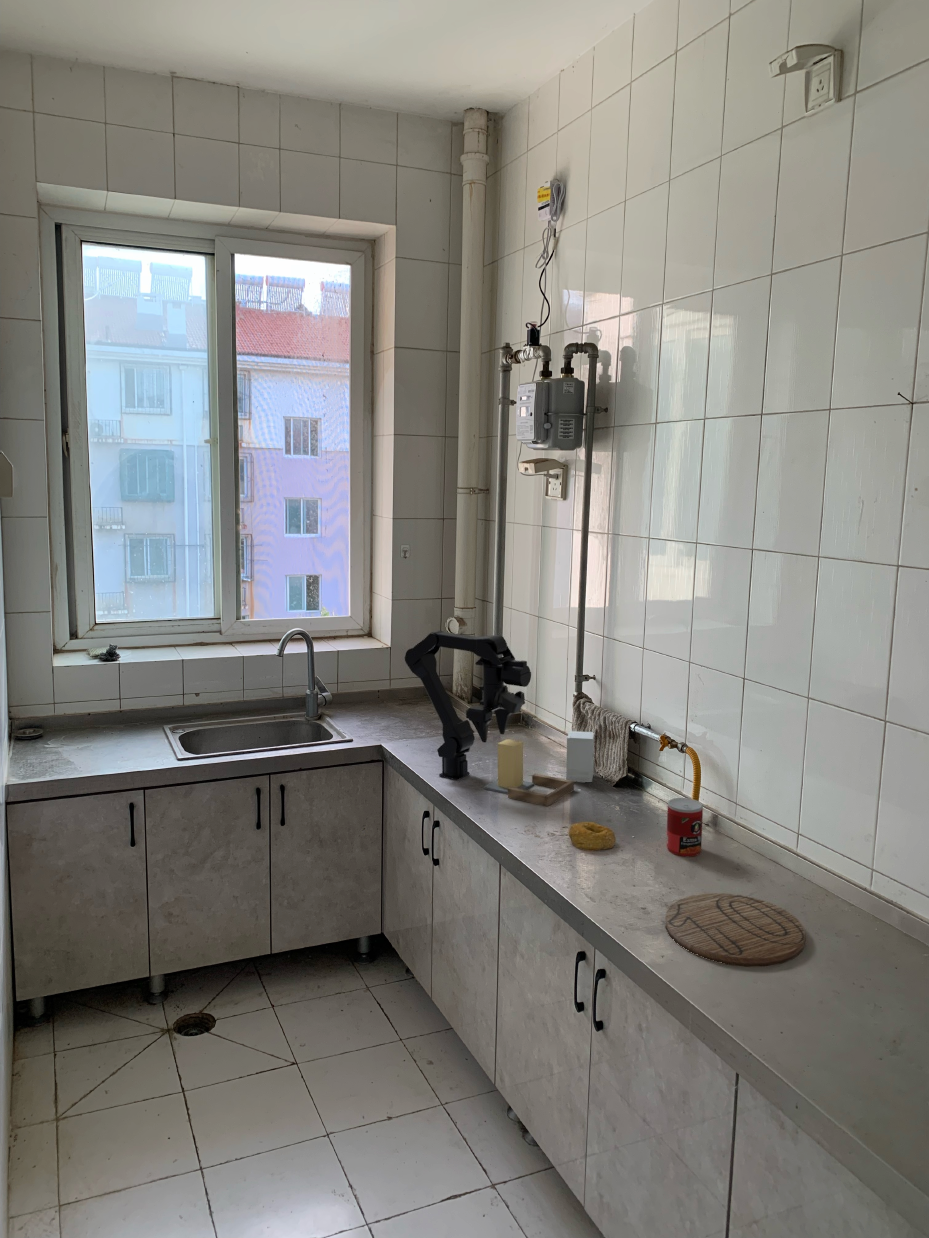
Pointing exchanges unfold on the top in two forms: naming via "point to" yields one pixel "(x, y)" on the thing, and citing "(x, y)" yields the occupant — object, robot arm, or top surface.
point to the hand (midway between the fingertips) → (493, 738)
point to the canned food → (684, 826)
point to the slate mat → (495, 787)
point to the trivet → (735, 929)
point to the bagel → (591, 836)
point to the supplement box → (580, 756)
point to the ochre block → (510, 763)
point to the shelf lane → (538, 798)
